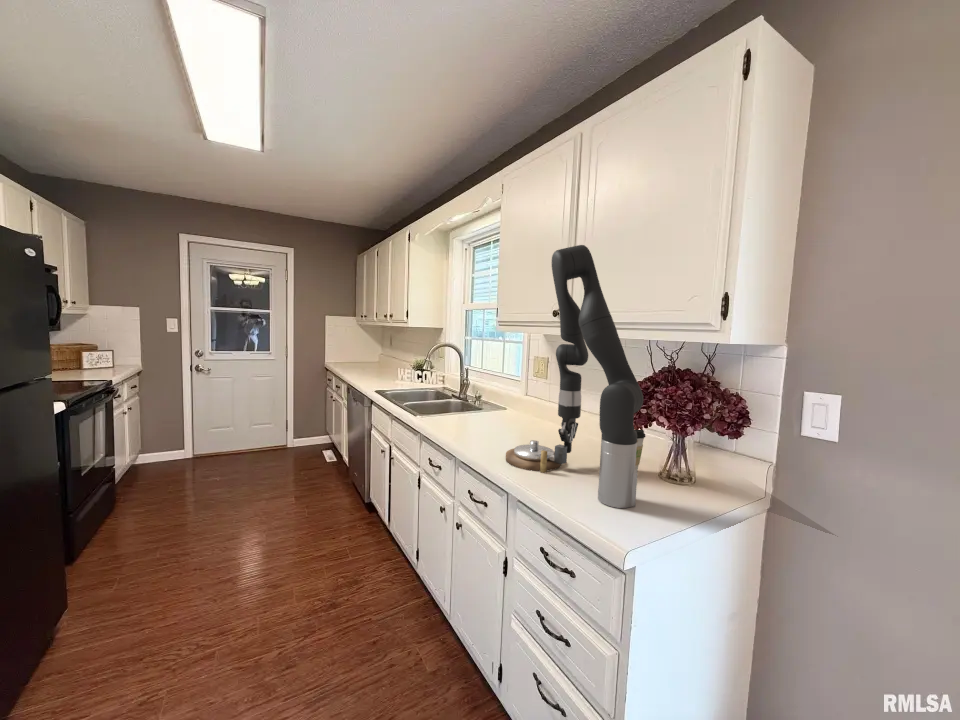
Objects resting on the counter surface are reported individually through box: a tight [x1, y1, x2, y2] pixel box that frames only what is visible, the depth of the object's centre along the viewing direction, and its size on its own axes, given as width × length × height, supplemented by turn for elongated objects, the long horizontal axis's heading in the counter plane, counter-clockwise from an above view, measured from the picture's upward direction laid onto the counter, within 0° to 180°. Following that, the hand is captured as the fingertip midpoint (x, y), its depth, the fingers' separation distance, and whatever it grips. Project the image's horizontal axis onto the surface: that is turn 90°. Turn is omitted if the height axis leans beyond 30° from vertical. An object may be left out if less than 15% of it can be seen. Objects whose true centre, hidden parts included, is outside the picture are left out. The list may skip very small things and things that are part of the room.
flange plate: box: [513, 439, 568, 465], centre depth 138 cm, size 20×14×6 cm
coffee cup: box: [635, 429, 646, 472], centre depth 132 cm, size 10×10×15 cm
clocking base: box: [505, 447, 563, 474], centre depth 139 cm, size 20×22×7 cm
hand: (567, 452), depth 135 cm, fingers closed
